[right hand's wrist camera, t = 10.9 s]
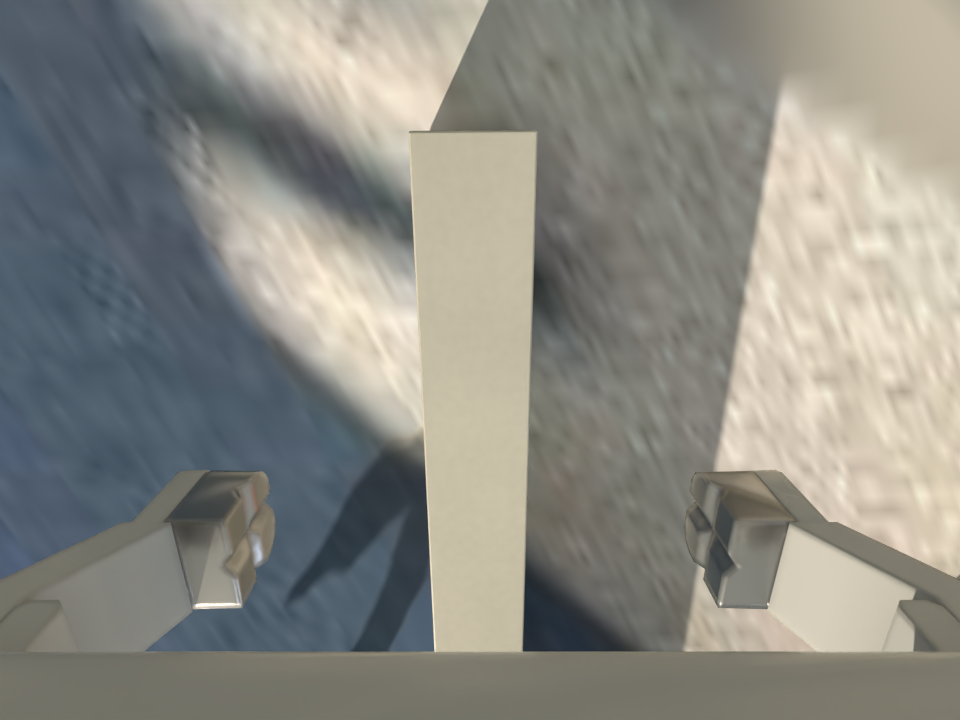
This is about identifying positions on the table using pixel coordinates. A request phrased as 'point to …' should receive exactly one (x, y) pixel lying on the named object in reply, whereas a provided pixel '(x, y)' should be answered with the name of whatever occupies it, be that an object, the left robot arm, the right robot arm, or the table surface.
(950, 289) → the table surface
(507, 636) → the bar
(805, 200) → the table surface
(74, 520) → the table surface
